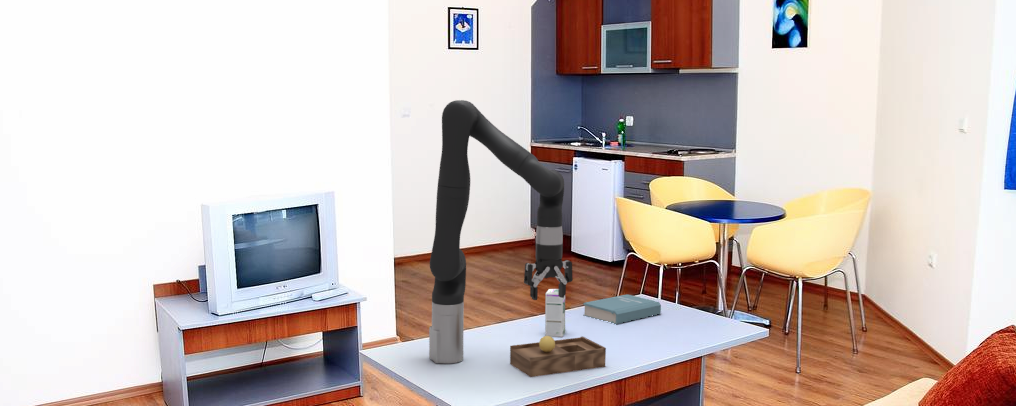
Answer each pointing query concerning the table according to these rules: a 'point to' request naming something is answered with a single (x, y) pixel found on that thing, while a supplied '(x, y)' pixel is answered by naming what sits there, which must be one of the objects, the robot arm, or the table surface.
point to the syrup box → (554, 314)
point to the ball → (547, 344)
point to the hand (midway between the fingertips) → (548, 298)
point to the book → (621, 308)
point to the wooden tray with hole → (558, 357)
